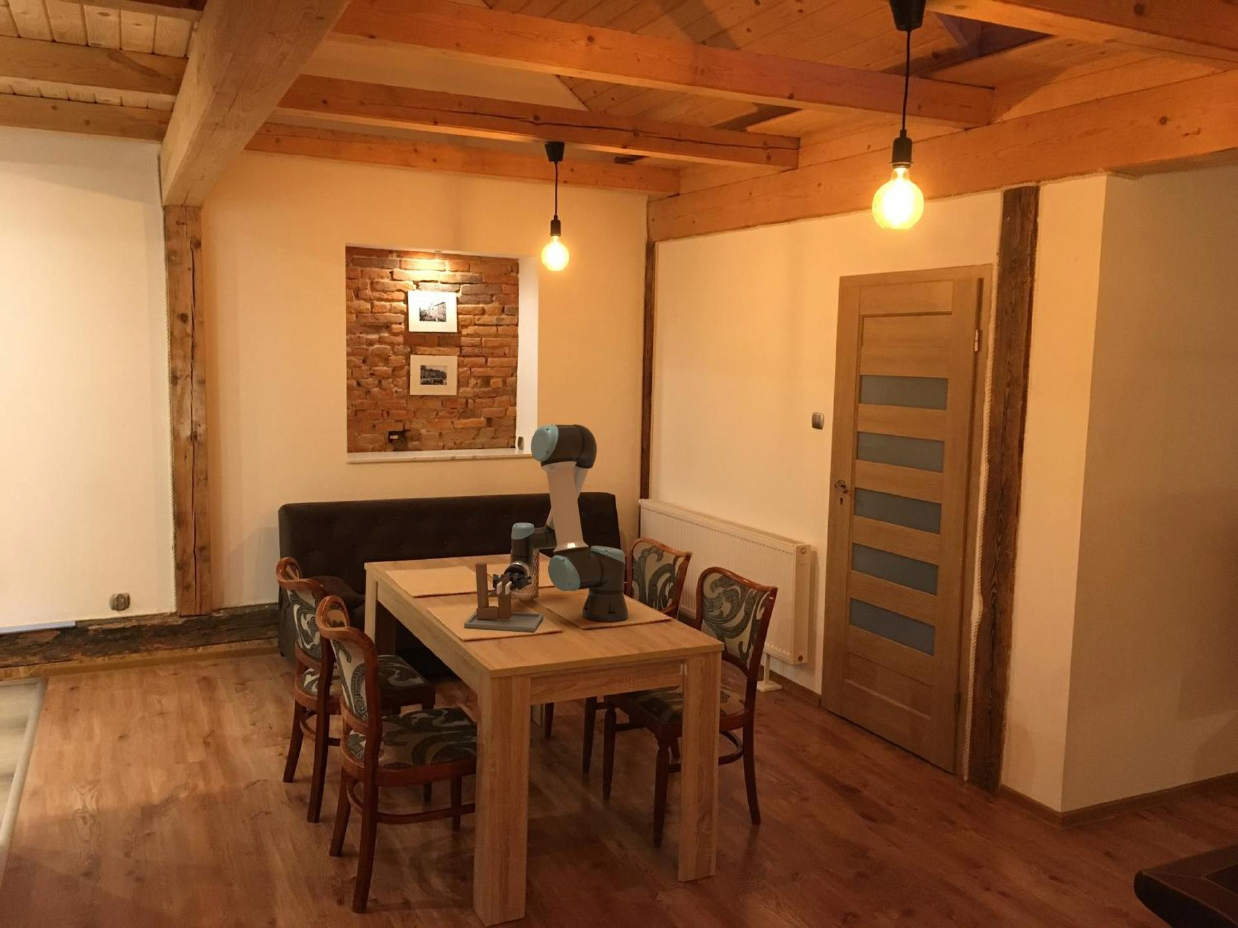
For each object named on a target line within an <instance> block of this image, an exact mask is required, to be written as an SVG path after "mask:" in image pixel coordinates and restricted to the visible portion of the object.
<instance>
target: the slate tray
mask: <svg viewBox="0 0 1238 928" xmlns="http://www.w3.org/2000/svg"><path fill="white" fill-rule="evenodd" d="M543 620H544V613H535V612H533V613H532V612H520V611H519V612H517V611H512V617H511V618H510V619H477V612H476V611H474V612H473V613H472V615H470V616H469V618H468V619H466V621H465V622H464V623H463V629H473V630H490V631H502V632H516V633H517V632H521V633H535V632H536V630H537V628H538V627H539V625H540V624H541V623H542V621H543Z"/></svg>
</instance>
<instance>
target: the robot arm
mask: <svg viewBox="0 0 1238 928" xmlns="http://www.w3.org/2000/svg"><path fill="white" fill-rule="evenodd" d="M530 452H531V455H532V457H533V459H534V460H535V461H537V462H538V463H540V468H541V470H543V471H544V472H545V473H546V477H547V478H546V479H547V485H548V493H549V498H550V499H549V500H550V506H551V507H550V511H549V514H548V517H547V520H546V522H545V524H544V527H535V526H534V524H533V523H529V522H516V523H514V524H513V525H512V528H511V529H512V530H511V555H510V565H509V566H508V567H507V568H506V569H505V570H504V571H503V573H502V574H500V575H499V574H497V573H493V574H492V588H493V589H495V588H496V589H497V594H500V592H501V591H502V582H501V581H502V580H503V579H504V578H505V577H506V576H507V575H508V574H510V582H509V583H508V584H507V585H506V586H505V594H507V595H508V593H509V592H511V591H515V590H516V589H517V590H522V589H524V588H526V587H527V586H530V585H532V584H533V583H532V581H533V580H532V579H533V576H532V575H533V573H534V571H535V567H536V565H535V562H534V551H538V550H545V549H553V550H552V551H553V552H552V554H553V556H552V557H550V560H548V565H547V573H548V577H549V579H550V581H551V583H552V585H553V586H554V587H555V588H556V589H558V591H562V592H576V591H580V590H587V589H588V593H587V596H586V599H585V602H584V604H583V607H582V617H583V618H585V619H587V620H590V621H594V622H595V621H596V622H604V623H605V622H606V623H607V622H608V623H609V622H611V623H612V622H621V621H624V620H627V619H628V617H629V607H628V605H627V602H626V599H625V595H624V593H625V592H624V590H625V569H626V555H625V552H624V551H623V550H621V549H619V548H614V547H609V546H603V545H591V546H590V548H589V545H588V544H587V543H586V542H585V541H584V539H583V538H584V537H583V532H582V525H581V516H580V510H579V504H578V503H579V502H578V498H579V497H580V493H581V491H582V488H583V485H584V483H585V480H586V477H587V475H588V472H589V470H591V469H592V468H593V467H594V464H595V462H596V460H597V454H598V453H597V452H598V446H597V441H596V437H595V436H594V434H593V432H592V431H591V430H590V429H589V428H588V427H586V426H585V425H582V424H576V423H575V424H546V425H542V426H539V427H538V428H537V429H535V431H534V433H533V435H532V437H531V442H530Z"/></svg>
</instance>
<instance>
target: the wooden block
mask: <svg viewBox="0 0 1238 928" xmlns="http://www.w3.org/2000/svg"><path fill="white" fill-rule="evenodd" d="M474 567H475V580H476V581H475V582H476V584H475V585H476V599H477V600H476V601H477V608H476V609H475V610H476V611H475V612H477V619H510V618H511V617H512V612H513V611H512V596H511V594H512V593H511V591H510V592H509V593H508V595H507V594H505V586H506V585H507V584H508V583H509V582H510V574H508V575H507V576H506V577H505V578H504V579H503V580H502V581H501V582H502V591H501V592H500V594H497V589H496V588H493V590H491V592H490V593H489V582H488V565H487V562H483V561H478V562H476V563H475V564H474ZM490 598H497V606H495V605H490V601H489V599H490Z"/></svg>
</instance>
